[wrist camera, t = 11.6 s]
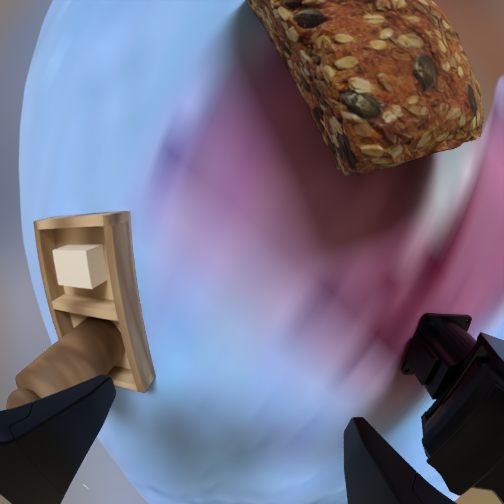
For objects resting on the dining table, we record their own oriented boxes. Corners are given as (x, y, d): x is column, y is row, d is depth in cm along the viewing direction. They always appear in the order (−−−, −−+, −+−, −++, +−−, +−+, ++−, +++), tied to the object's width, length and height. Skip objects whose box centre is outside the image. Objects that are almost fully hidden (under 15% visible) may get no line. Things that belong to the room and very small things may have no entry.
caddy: (129, 210, 20) (110, 214, 18) (155, 376, 24) (144, 392, 22) (52, 217, 21) (33, 221, 19) (83, 358, 25) (70, 371, 23)
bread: (235, -2, 15) (210, -77, 6) (341, -24, 13) (359, -90, 4) (330, 182, 19) (377, 179, 9) (441, 144, 17) (525, 131, 7)
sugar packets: (102, 244, 21) (85, 250, 18) (107, 279, 21) (92, 289, 19) (68, 244, 21) (52, 250, 19) (74, 276, 22) (58, 284, 20)
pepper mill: (131, 336, 23) (42, 441, 9) (117, 367, 24) (44, 461, 10) (90, 304, 22) (-14, 384, 8) (80, 338, 24) (-4, 415, 10)
